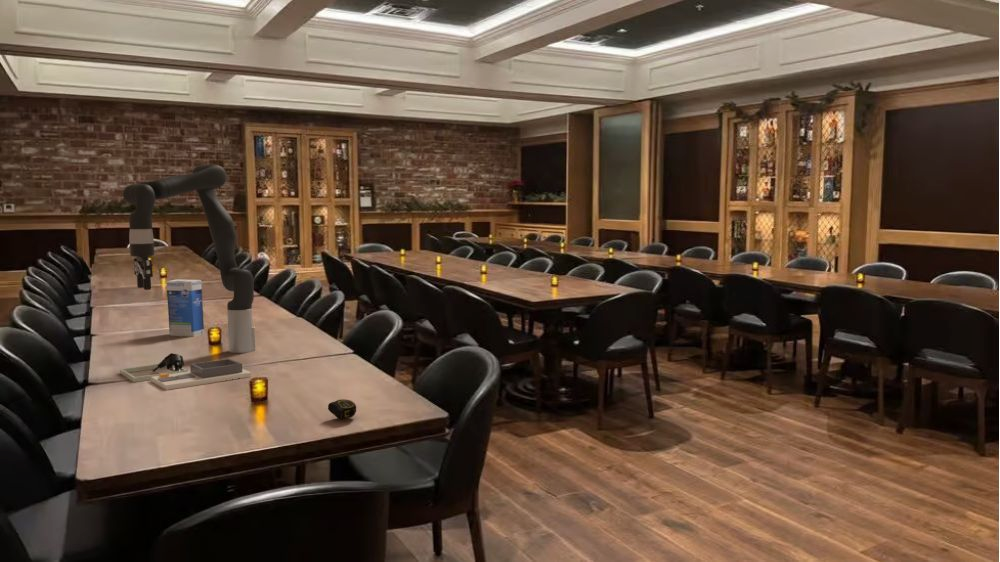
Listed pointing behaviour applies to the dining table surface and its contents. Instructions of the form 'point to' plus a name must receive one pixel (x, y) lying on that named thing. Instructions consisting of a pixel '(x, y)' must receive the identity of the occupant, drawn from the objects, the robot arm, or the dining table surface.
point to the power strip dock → (202, 374)
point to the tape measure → (342, 408)
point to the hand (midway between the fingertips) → (144, 288)
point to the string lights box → (185, 307)
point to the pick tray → (141, 368)
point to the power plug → (171, 362)
